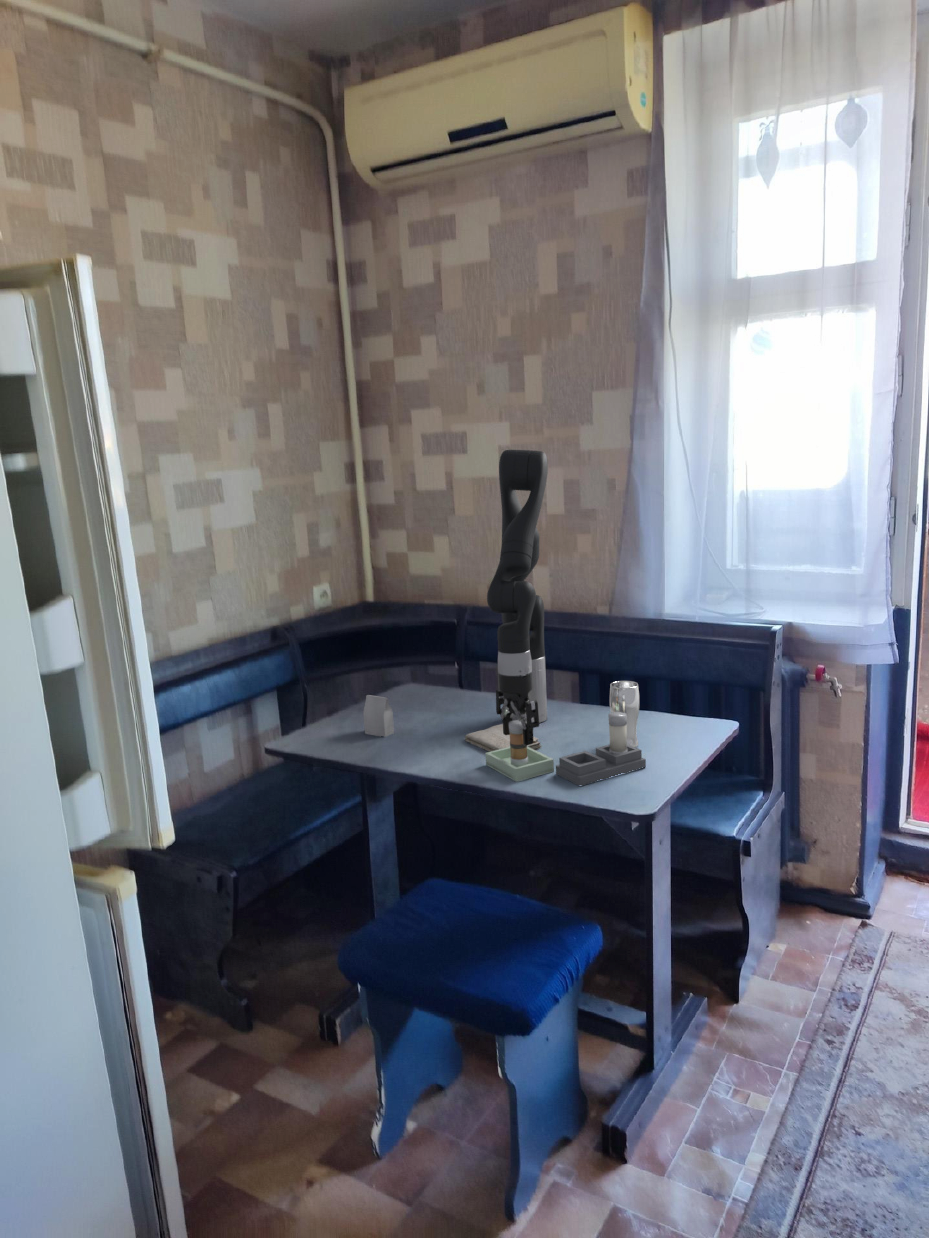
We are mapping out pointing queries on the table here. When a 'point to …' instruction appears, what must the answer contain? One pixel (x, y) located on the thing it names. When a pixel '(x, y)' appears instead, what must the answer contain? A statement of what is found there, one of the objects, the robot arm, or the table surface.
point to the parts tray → (535, 767)
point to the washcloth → (494, 739)
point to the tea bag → (378, 716)
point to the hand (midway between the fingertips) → (518, 739)
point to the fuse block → (598, 764)
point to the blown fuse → (517, 744)
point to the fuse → (618, 732)
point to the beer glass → (626, 706)
